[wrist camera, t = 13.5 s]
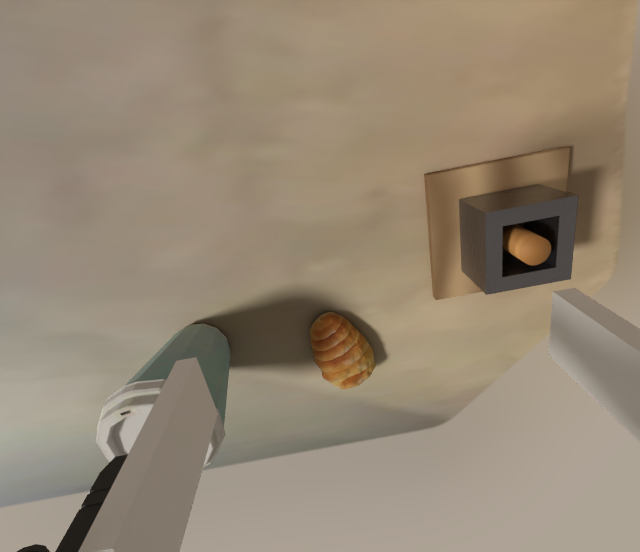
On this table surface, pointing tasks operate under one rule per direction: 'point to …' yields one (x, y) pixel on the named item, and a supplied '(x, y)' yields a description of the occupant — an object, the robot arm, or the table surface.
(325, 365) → the pastry
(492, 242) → the hollow square block
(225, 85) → the table surface
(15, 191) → the table surface
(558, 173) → the keeper
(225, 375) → the disposable coffee cup
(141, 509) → the robot arm
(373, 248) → the table surface
